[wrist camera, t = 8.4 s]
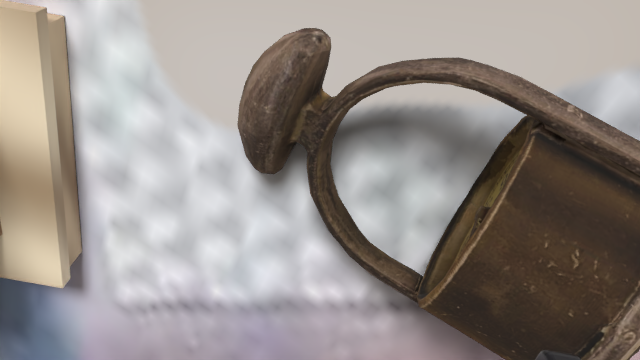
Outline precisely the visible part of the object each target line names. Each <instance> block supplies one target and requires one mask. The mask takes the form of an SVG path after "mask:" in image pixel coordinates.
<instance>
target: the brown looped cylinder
mask: <svg viewBox="0 0 640 360" xmlns="http://www.w3.org/2000/svg"><path fill="white" fill-rule="evenodd" d="M330 50H331V39H330V37H329V36H328V35H327V34H326V33H325V32H324V31H323V30H320V29H316V28H304V29H301V30H299V31H296V32H293V33H289V34H287V35H284V36H283V37H282V38H281V39H279V40H278V41H277V42H276V43H274V44H273V45H272V46H271V47H270V48H268V49H267V50H266V51H265V52H264V53H263V54H262V55H261V57H260V58H259V59H258V60H257V62H256V63H255V64H254V65H253V67H252V70H251V72H250V74H249V76H248V78H247V80H246V83H245V86H244V90H243V94H242V97H241V101H240V105H239V116H238V129H239V133H240V136H241V140H242V143H243V147H244V151H245V154H246V157H247V158H248V160H249V161H250V162H251V164H252V165H253V166H254V168H255V169H256V170H258V171H259V172H261V173H266V174H275V173H277V172H278V171H280V170H281V169H282V168H283V166H284V164H285V162H286V161H287V159H288V157H289V155H290V153H291V151H292V149H293V147H294V146H295V144H296V143H297V142H298V143H300V144H301V145H303V147H304V148H305V149H306V150H307V173H308V180H309V187H310V194H311V196H312V198H313V200H314V202H315V205H316V207H317V209H318V211H319V213H320V215H321V217H322V219H323V221H324V223H325V224H326V226H327V228H328V230H329V231H330V233H331V234H332V235H333V236H334V237H335V239H336V240H337V241H338V242H339V243H340V245H341V246H342V247H343V248H344V250H345V251H346V252H347V253H348V254H349V256H350V257H351V258H353V259H354V260H355V261H356V262H357V263H358V264H359V265H361V266H362V267H363V268H364V269H365V270H366V271H367V272H369V273H370V274H371V275H373V276H374V277H376V278H378V279H379V280H381V281H382V282H384V283H386V284H387V285H389V286H390V287H392V288H393V289H395V290H397V291H398V292H400V293H402V294H404V295H405V296H407V297H409V298H410V299H412V300H414V301H415V302H417V303H418V304H419V307H421V308H422V309H424V310H426V311H427V312H429V313H431V314H432V315H434V316H436V317H437V318H439V319H441V320H442V321H444V322H446V323H447V324H449V325H450V326H452V327H454V328H455V329H457V330H459V331H460V332H462V333H464V334H465V335H467V336H468V337H470V338H472V339H473V340H475V341H477V342H478V343H480V344H481V345H483V346H485V347H486V348H488V349H489V350H491V351H493V352H494V353H496V354H497V355H499V356H501V357H502V358H504V359H506V360H535V359H536V357H537V356H538V354H539V353H540V352H541V351H543V350H553V351H559V352H564V353H570V354H574V355H576V356H578V357H579V358H580V359H581V360H630V358H631V357H632V356H633V355H634V354H636V353H637V352H638V351H639V349H640V141H639V140H637V139H635V138H633V137H631V136H629V135H627V134H625V133H623V132H622V131H620V130H618V129H616V128H614V127H612V126H611V125H609V124H607V123H605V122H603V121H601V120H600V119H598V118H596V117H594V116H592V115H590V114H589V113H587V112H585V111H583V110H581V109H579V108H577V107H576V106H574V105H572V104H570V103H568V102H566V101H565V100H563V99H561V98H559V97H557V96H555V95H554V94H552V93H550V92H548V91H546V90H544V89H542V88H540V87H538V86H536V85H534V84H533V83H531V82H529V81H527V80H525V79H523V78H521V77H519V76H516V75H513V74H511V73H508V72H505V71H503V70H500V69H497V68H494V67H492V66H489V65H485V64H482V63H479V62H475V61H472V60H467V59H463V58H432V59H431V58H430V59H419V60H409V61H408V60H407V61H401V62H396V63H392V64H388V65H384V66H380V67H377V68H376V69H374V70H372V71H371V72H369V73H367V74H366V75H364V76H362V77H360V78H359V79H357V80H355V81H353V82H352V83H350V84H348V85H347V86H346V87H345V88H344V89H343V90H342V91H341V92H340V93H339V94H338V95H337V96H335V97H331V96H329V95H328V94H327V93H325V92H324V91H323V89H322V84H323V81H324V77H325V74H326V70H327V66H328V62H329V57H330ZM416 83H438V84H451V85H455V86H459V87H463V88H468V89H472V90H476V91H478V92H480V93H482V94H485V95H487V96H490V97H492V98H494V99H497V100H499V101H501V102H503V103H505V104H507V105H509V106H511V107H513V108H515V109H517V110H518V111H520V112H522V113H524V114H526V115H527V116H525V117H524V118H522V119H521V120H520V122H519V123H518V124H517V125H516V126H515V127H514V128H513V129H512V130H511V131H510V132H509V133H508V135H507V136H506V137H505V138H504V139H503V140H502V142H501V143H500V144H499V146H498V147H497V149H496V151H495V152H494V154H493V155H492V157H491V159H490V160H489V162H488V164H487V165H486V167H485V168H484V170H483V171H482V173H481V174H480V176H479V177H478V178H477V180H476V181H475V183H474V184H473V186H472V188H471V190H470V191H469V193H468V195H467V196H466V198H465V199H464V201H463V203H462V204H461V206H460V207H459V209H458V210H457V212H456V213H455V215H454V217H453V218H452V220H451V222H450V223H449V225H448V227H447V228H446V230H445V232H444V234H443V236H442V238H441V240H440V242H439V243H438V245H437V247H436V249H435V251H434V253H433V255H432V257H431V259H430V261H429V264H428V266H427V268H426V271H425V274H424V277H423V276H421V275H420V274H418V273H417V272H415V271H414V270H412V269H410V268H409V267H407V266H405V265H403V264H402V263H400V262H398V261H396V260H394V259H393V258H391V257H389V256H388V255H387V254H385V253H384V252H383V251H381V250H380V249H378V248H377V247H376V246H374V245H373V244H371V243H370V242H369V241H368V240H367V239H366V238H365V236H364V235H363V234H362V233H361V231H360V230H359V229H358V227H357V226H356V224H355V222H354V221H353V219H352V218H351V216H350V214H349V213H348V211H347V209H346V208H345V206H344V204H343V203H342V201H341V199H340V198H339V196H338V193H337V190H336V187H335V184H334V180H333V175H332V170H331V165H330V162H331V152H332V143H333V138H334V136H335V134H336V131H337V129H338V127H339V124H340V123H341V121H342V120H343V118H344V117H345V115H346V114H347V112H348V111H349V109H350V108H352V107H353V106H354V105H356V104H357V103H358V102H360V101H361V100H362V99H364V98H366V97H368V96H370V95H372V94H374V93H377V92H379V91H381V90H383V89H385V88H389V87H393V86H398V85H407V84H416Z"/></svg>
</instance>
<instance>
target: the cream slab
mask: <svg viewBox="0 0 640 360" xmlns="http://www.w3.org/2000/svg"><path fill="white" fill-rule="evenodd" d="M0 221H1V227H2V235H1V236H0V277H2V278H7V279H13V280H19V281H24V282H30V283H35V284H41V285H47V286H52V287H58V288H64V286H65V285H66V284H67V282H68V281H69V280H70V278H71V276H70V266H71V265H72V264H73V262H74V261H75V260H76V258H77V257H78V256H79V254H80V253H81V252H82V246H81V232H80V219H79V206H78V193H77V179H76V166H75V153H74V140H73V126H72V113H71V100H70V87H69V73H68V60H67V47H66V34H65V20H64V16H61V15H55V14H49V13H47V8H46V7H40V6H34V5H28V4H22V3H16V2H10V1H4V0H0Z"/></svg>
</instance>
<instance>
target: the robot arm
mask: <svg viewBox="0 0 640 360" xmlns="http://www.w3.org/2000/svg"><path fill="white" fill-rule="evenodd" d="M535 360H581V359H580V358H579V357H578V356H576V355H574V354H570V353H564V352H559V351H553V350H543V351H541V352H540V353H539V354H538V356H537V357H536V359H535Z"/></svg>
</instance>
